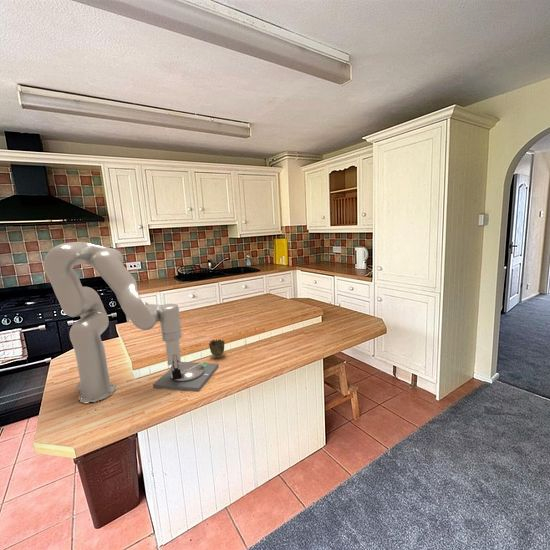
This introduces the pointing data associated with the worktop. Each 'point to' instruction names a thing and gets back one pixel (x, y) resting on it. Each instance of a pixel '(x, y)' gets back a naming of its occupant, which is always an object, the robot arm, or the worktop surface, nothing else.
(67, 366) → the worktop surface
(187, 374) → the dial
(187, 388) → the plate
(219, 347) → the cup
